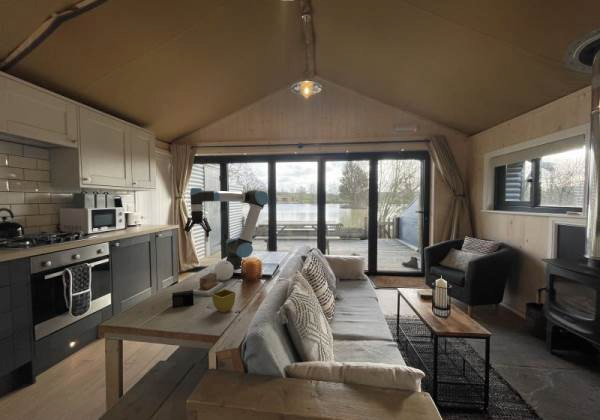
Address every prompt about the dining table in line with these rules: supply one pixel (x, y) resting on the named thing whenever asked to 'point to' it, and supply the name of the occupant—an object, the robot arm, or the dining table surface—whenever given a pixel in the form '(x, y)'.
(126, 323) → the dining table surface
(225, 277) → the geodesic sphere
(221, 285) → the grey flat frame
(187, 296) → the digital camera
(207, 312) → the dining table surface
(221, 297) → the flower pot
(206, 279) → the walnut block
